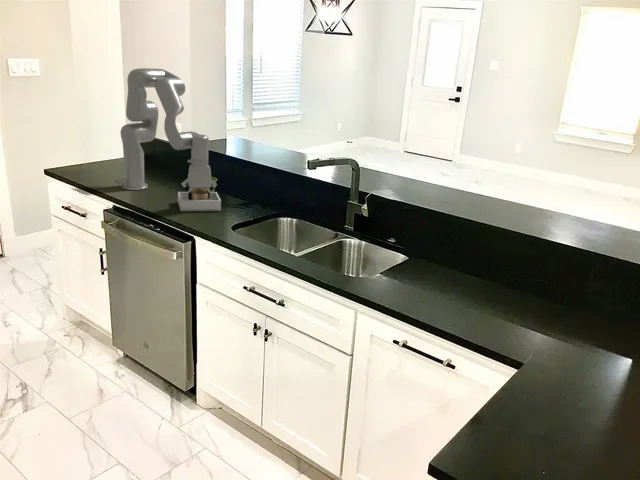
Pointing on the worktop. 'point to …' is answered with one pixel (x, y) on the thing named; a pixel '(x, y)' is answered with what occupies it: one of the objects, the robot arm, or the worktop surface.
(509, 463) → the worktop surface
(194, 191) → the small crate
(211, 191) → the plant pot
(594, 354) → the worktop surface
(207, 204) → the box
